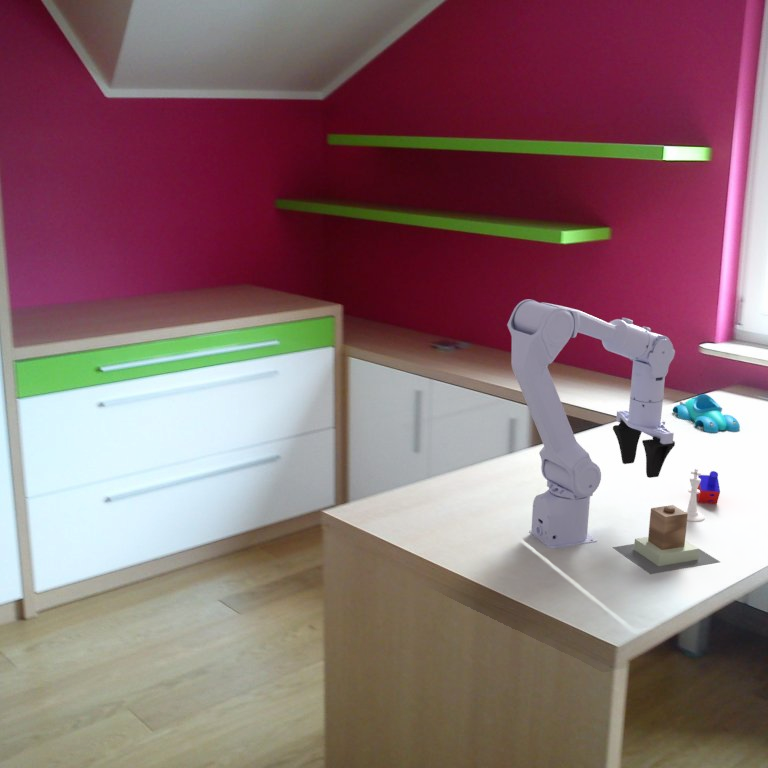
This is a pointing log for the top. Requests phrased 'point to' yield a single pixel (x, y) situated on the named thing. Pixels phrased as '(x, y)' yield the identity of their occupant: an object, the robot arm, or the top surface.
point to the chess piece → (694, 499)
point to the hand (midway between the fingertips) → (640, 469)
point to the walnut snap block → (667, 527)
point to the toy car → (706, 414)
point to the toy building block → (708, 488)
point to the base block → (666, 552)
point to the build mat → (653, 568)
